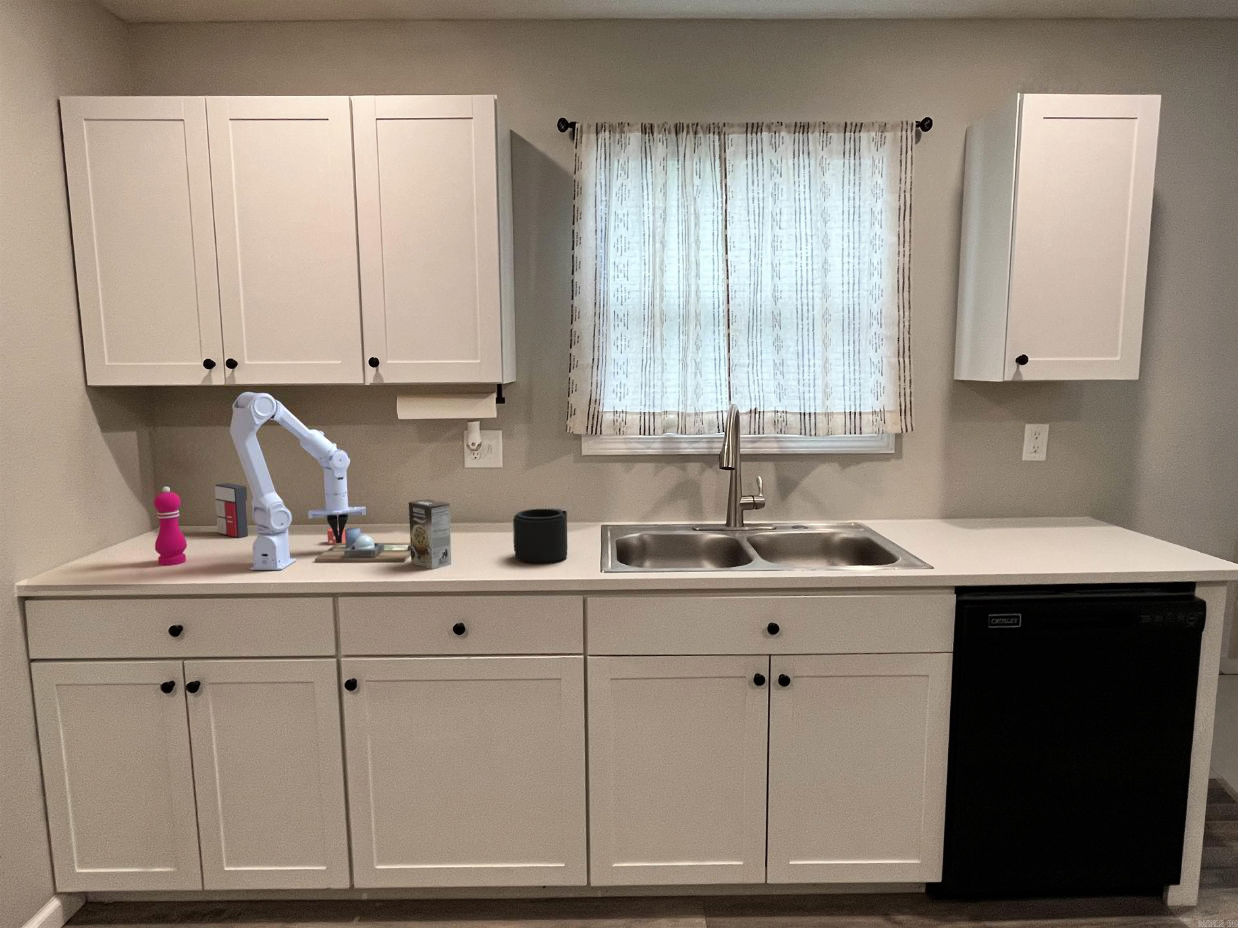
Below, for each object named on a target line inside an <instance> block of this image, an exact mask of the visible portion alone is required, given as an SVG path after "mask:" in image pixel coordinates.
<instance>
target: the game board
mask: <svg viewBox="0 0 1238 928" xmlns="http://www.w3.org/2000/svg"><path fill="white" fill-rule="evenodd" d="M354 544H355V543H354ZM354 544H352V545H351V546H350V547H348V548H347V549H346V542H345V543H337V544H336V545H332V546H331V547H330V548H328V549H327V550H325V551H324V552H323V553H321V554H319V555H318V556H317V557H315V558H314V561H315V563H405V562H406V561H407V560H408V559H409V558H411V544H410V542H374V548H373V549H355V546H354Z"/></svg>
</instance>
